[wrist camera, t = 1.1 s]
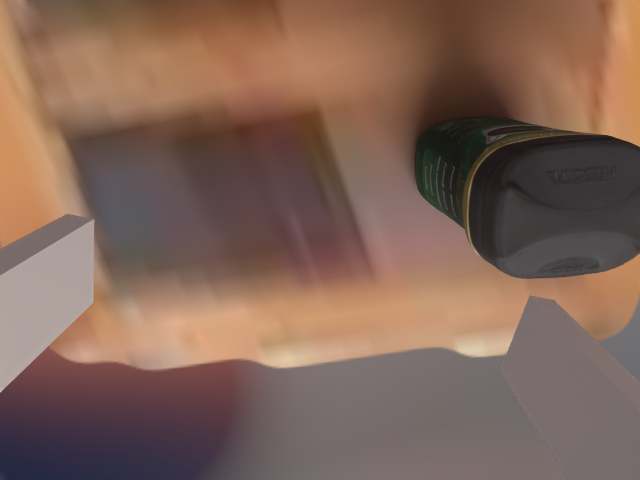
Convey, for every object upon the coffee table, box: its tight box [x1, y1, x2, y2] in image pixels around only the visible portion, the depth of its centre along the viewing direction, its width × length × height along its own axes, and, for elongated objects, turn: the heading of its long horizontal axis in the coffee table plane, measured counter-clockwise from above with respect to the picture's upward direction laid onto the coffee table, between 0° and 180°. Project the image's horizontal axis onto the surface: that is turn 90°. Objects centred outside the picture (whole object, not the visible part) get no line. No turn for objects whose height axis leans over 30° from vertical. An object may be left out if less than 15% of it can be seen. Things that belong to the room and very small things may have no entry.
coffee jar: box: [415, 117, 640, 279], centre depth 31 cm, size 10×8×19 cm
